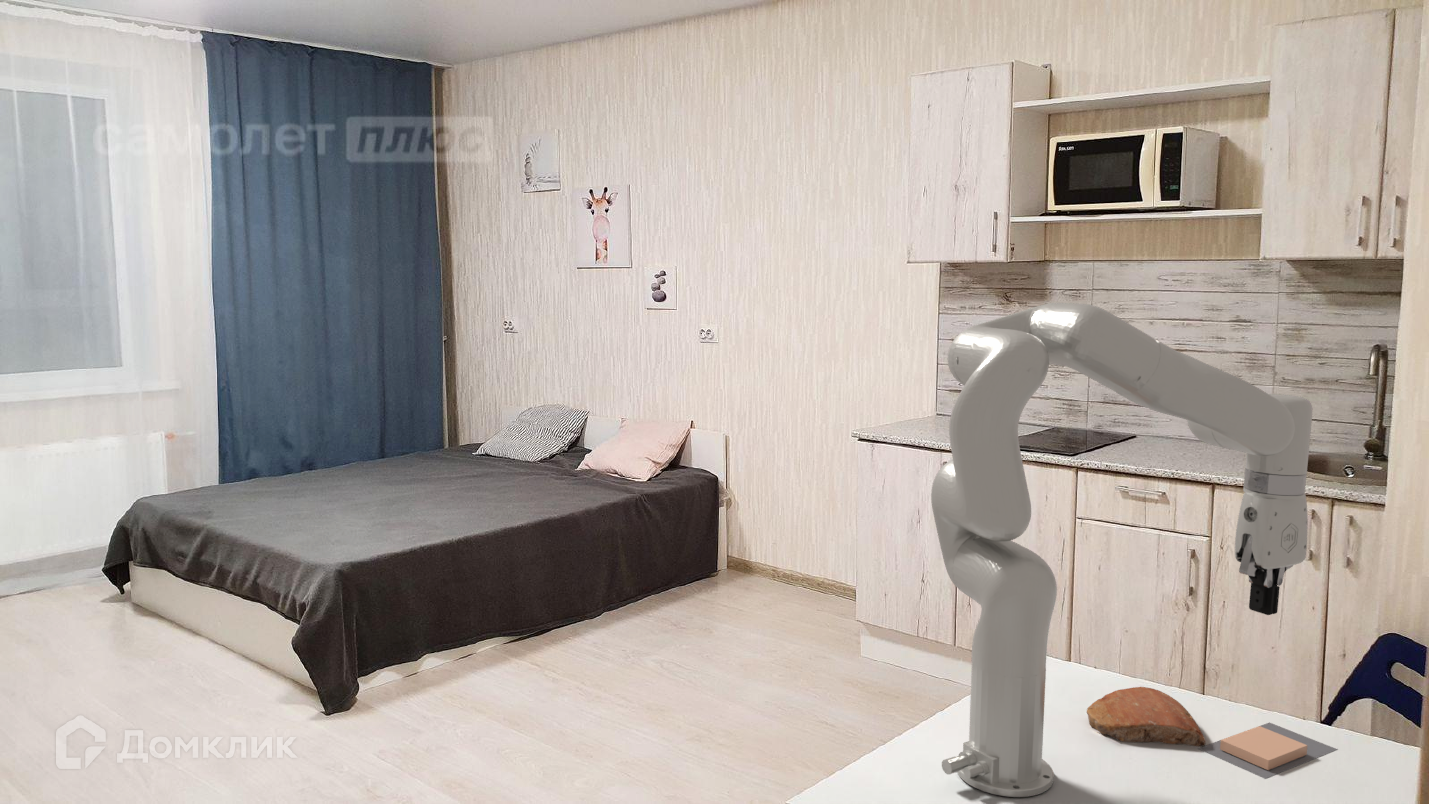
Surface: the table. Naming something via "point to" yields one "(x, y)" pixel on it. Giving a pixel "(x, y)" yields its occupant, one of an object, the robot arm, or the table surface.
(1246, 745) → the tile
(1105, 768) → the table surface
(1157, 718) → the ceramic shard
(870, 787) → the table surface
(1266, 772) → the mat
